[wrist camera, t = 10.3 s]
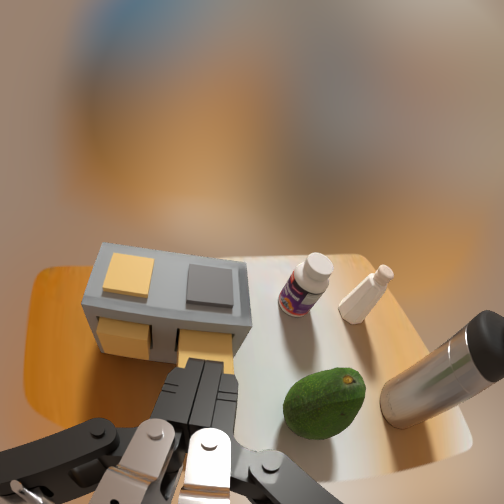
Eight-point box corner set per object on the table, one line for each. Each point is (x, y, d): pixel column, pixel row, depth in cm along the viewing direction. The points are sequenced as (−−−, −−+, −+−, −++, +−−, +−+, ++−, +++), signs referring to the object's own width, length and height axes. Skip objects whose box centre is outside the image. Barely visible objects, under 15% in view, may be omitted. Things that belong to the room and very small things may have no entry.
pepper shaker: (338, 320, 43) (376, 278, 36) (337, 296, 47) (370, 253, 40) (364, 328, 43) (404, 289, 36) (361, 304, 47) (397, 263, 40)
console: (225, 314, 38) (247, 258, 30) (227, 367, 32) (254, 323, 25) (112, 299, 34) (102, 238, 26) (101, 352, 28) (79, 300, 20)
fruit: (275, 449, 26) (328, 435, 18) (266, 391, 31) (309, 353, 23) (333, 438, 28) (395, 415, 20) (321, 386, 34) (374, 347, 26)
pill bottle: (272, 291, 44) (296, 248, 37) (301, 289, 46) (327, 248, 39) (284, 320, 40) (312, 279, 34) (313, 316, 42) (344, 277, 36)
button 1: (156, 299, 32) (157, 273, 28) (149, 360, 26) (147, 340, 23) (117, 293, 30) (113, 266, 27) (104, 352, 25) (96, 331, 22)
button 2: (221, 331, 31) (230, 309, 28) (223, 396, 26) (234, 383, 22) (178, 327, 30) (181, 304, 27) (175, 393, 25) (177, 379, 21)
